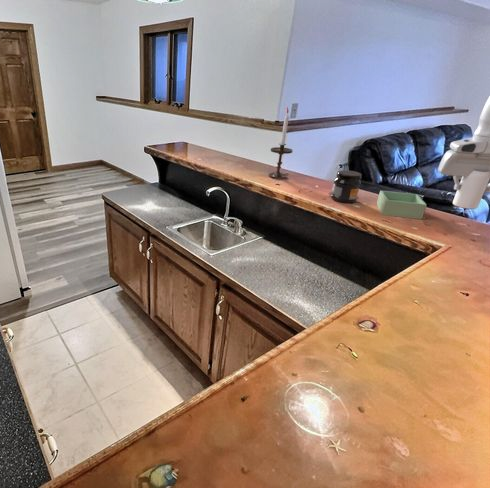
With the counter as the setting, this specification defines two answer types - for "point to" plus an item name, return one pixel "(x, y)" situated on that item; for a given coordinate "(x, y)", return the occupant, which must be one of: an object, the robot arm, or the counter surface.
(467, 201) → the can
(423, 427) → the counter surface
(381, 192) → the box
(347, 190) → the supplement container
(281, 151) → the candlestick
